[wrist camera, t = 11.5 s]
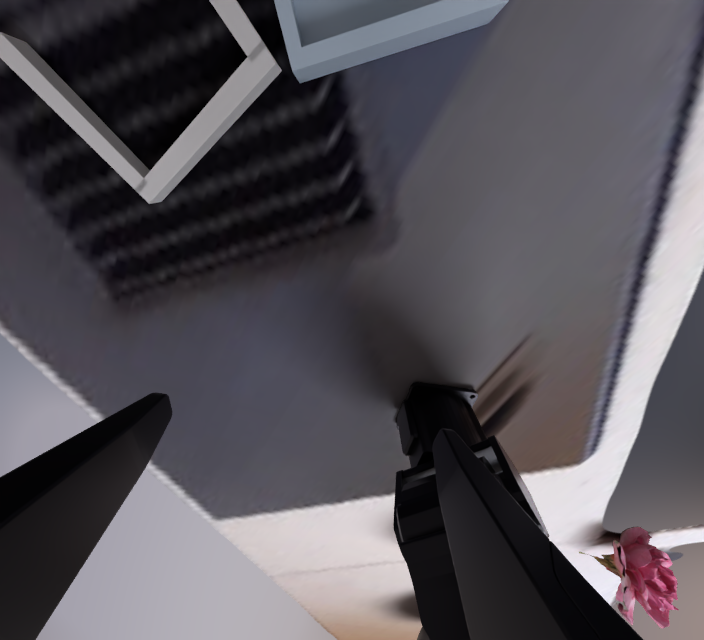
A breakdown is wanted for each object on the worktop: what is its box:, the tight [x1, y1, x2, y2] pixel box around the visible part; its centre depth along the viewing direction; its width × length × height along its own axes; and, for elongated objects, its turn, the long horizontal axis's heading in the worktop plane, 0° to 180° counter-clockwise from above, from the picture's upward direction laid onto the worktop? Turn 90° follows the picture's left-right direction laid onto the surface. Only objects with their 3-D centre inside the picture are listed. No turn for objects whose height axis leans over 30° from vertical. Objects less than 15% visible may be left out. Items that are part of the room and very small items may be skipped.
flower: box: [579, 527, 678, 628], centre depth 38 cm, size 11×10×10 cm
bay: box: [0, 0, 282, 204], centre depth 14 cm, size 9×11×1 cm
